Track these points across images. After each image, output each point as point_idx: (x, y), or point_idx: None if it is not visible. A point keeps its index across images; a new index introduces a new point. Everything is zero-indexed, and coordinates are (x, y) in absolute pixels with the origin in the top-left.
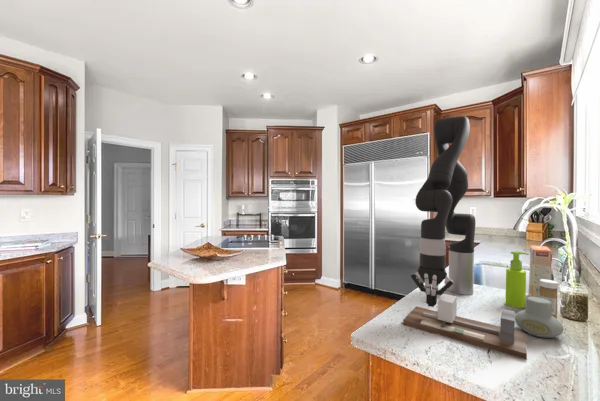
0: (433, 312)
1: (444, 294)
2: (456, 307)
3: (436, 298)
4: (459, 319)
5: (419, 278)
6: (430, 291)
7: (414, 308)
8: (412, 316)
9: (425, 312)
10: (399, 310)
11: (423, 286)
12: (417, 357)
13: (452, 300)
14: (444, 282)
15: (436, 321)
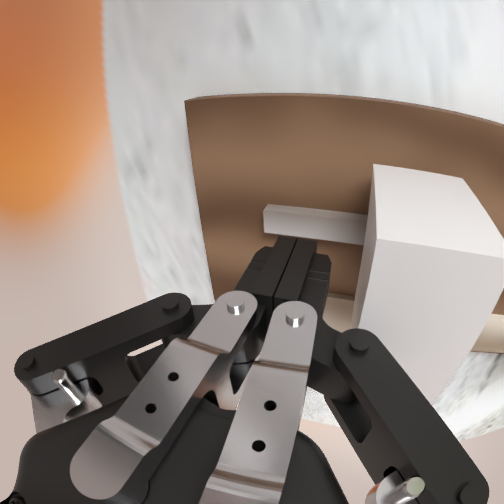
0: (309, 135)
1: (396, 258)
2: (480, 207)
3: (323, 305)
4: (472, 168)
5: (78, 362)
6: (254, 349)
7: (192, 144)
8: (230, 264)
9: (273, 214)
10: (143, 158)
11: (166, 338)
12: (319, 420)
13: (445, 372)
14: (367, 498)
15: (350, 267)
